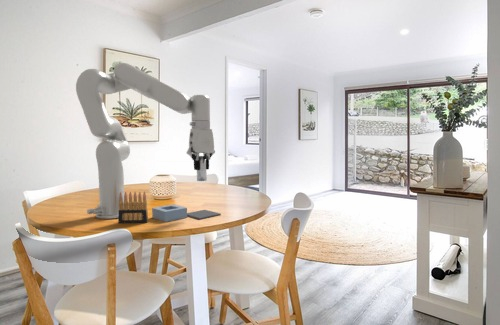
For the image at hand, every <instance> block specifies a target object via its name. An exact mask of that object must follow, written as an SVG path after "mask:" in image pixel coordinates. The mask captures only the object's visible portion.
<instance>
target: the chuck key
mask: <svg viewBox="0 0 500 325" xmlns="http://www.w3.org/2000/svg"><path fill="white" fill-rule="evenodd" d="M206 159H208V156H204V155H199V160H200V170H196V181H197V182H206V181H207V180H208V179H207V178H208V177H207V169H206Z"/></svg>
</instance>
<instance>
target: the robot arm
mask: <svg viewBox="0 0 500 325" xmlns="http://www.w3.org/2000/svg"><path fill="white" fill-rule="evenodd" d="M130 89H131V90H133V91H135V92H137V93H138V94H140V95H143V97H146V98H148V99H151V100H154V101H156V102H157V103H160V104H161V105H164V106H165V107H167V108H169V109H171V110H172V111H175V112H176V113H179V114H182V115H185V114H191V121H190V122H189V126H191V128H190V130H189V136H188V137H189V138H188V148H187V151H186V154H187V155H188V156H189V157H190V158H191V159H192V161H193V169H194V171H197V170H200V160H199V156H200V154H203V155H202V156H208V159H206V170H209V169H210V160H211V158H212V157H213V155H214V154H215V153H216V150H215V141H214V139H215V138H214V133H213V129H212V128H211V104H210V103H211V102H210V100H211V99H210V97H209V95H206V94H195V95H192V96H187V95H186V94H184V93H182V92H181V91H179V90H177V89H175V88H173V87H172V86H170V85H168V84H166V83H164V82H162V81H160V80H159V79H158V78H156V77H154V76H153V75H151V74H149V73H147V72H144V71H143V70H142V69H139V68H138V67H135V66H134V65H132V64H130V63H127V62H120V63H118V64H117V65H116V66H115V67H114V68H113V72H112V73H106V72H105V71H101V70H100V69H96V68H88V69H85V70H83V72H81V73H80V74H79V76H78V77H77V80H76V84H75V91H76V95H77V98H78V101H79V103H80V106H81V108H82V112H83V114H84V117H85V119H86V123H87V125H88V128H89V130H90V132H91V134H92V136H94V137H96V138H101V139H103V140H102V141H101V142H100V143H99V144H98V145H97V146H96V149H95V158H96V163H97V170H98V196H99V197H98V198H99V201H98V202H99V205H98V204H97V205H96V207H94V208H90V209H86V214H87V215H95V218H97V219H101V220H103V219H104V220H111V219H118V217H119V195H120V192H121V193H122V196H123V206H124V194H125V182H124V181H125V177H124V176H125V175H124V168H123V162H124V161H126V160H127V159H128V158H129V156H130V155H131V154H130V153H131V148H130V144H129V141H128V139H127V136H126V134H125V130H124V128H123V126H122V124H121V122H120V120H118V119H117V118H115V117H113V116H111V115H110V114H109V112H108V110H107V107H106V105H105V102H104V100H103V98H102V97H101V94H104V95H112V94H116V93H117V94H118V93H121V92H124V91H128V90H130Z"/></svg>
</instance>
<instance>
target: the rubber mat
mask: <svg viewBox="0 0 500 325" xmlns="http://www.w3.org/2000/svg"><path fill="white" fill-rule="evenodd" d="M221 215H222V214H221V213H220V212H217V211H212V210H207V209H202V210H195V211H191V212H187V217H189V218H193V219H196V220H199V221H200V220H203V219H204V220H205V219H209V218H213V217H218V216H221Z"/></svg>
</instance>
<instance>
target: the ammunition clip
mask: <svg viewBox="0 0 500 325" xmlns="http://www.w3.org/2000/svg"><path fill="white" fill-rule="evenodd" d="M117 219H118V221H117V222H118V224H147V223H148V222H149V214H148V202H147V194H146V191H143V195H142V193H141V191H139V192H138V195H137V192H136V191H134V193H133V192H132V191H130V192H129V195H128V194H127V191H124V206H123V196H122V193H121V192H120V195H119V217H118V218H117Z"/></svg>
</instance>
